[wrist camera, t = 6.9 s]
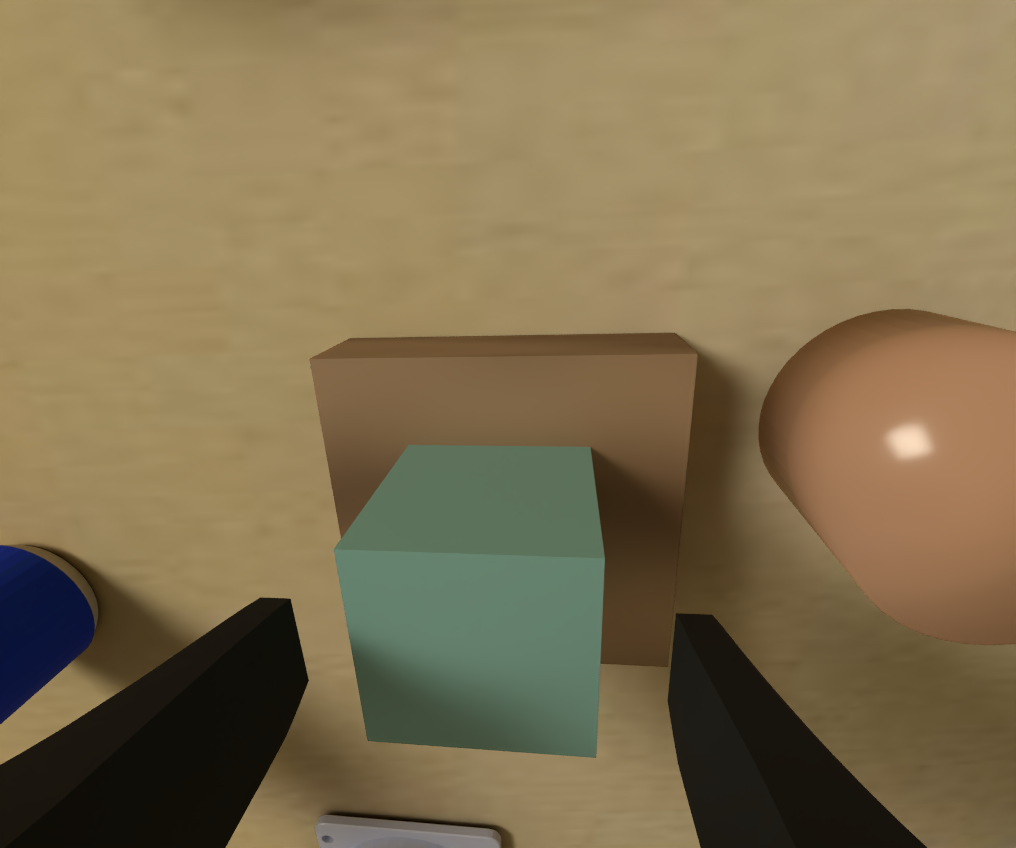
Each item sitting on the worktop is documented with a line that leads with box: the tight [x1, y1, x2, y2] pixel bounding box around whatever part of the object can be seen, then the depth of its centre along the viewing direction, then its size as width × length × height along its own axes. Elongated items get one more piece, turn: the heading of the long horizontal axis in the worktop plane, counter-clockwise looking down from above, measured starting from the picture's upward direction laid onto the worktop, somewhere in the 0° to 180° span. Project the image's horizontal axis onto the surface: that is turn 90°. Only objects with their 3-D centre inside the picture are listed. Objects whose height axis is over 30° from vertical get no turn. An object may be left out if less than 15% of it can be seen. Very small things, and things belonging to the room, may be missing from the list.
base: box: [310, 333, 698, 667], centre depth 15 cm, size 9×9×2 cm
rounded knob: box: [759, 309, 1016, 645], centre depth 12 cm, size 6×6×5 cm
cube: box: [334, 445, 605, 758], centre depth 11 cm, size 4×4×4 cm
